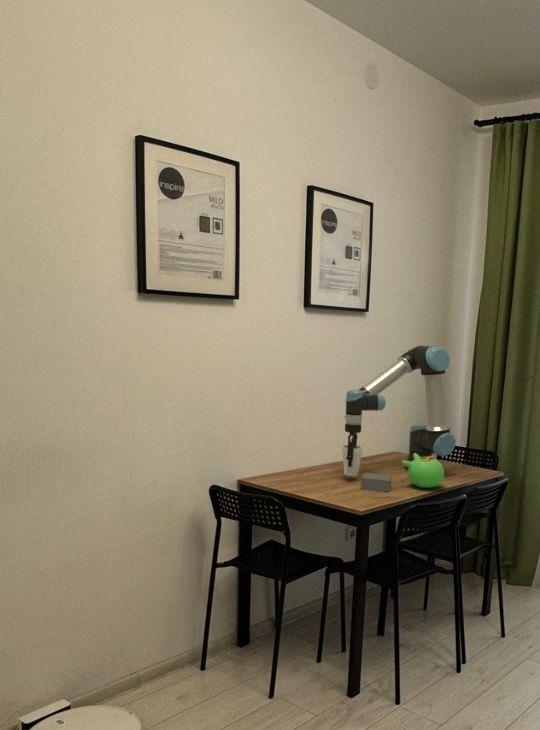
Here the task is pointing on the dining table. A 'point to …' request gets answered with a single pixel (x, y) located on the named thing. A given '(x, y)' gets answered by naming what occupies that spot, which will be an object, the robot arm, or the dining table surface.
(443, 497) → the dining table surface
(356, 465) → the foam cup
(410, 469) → the toy bird
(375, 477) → the base plinth
